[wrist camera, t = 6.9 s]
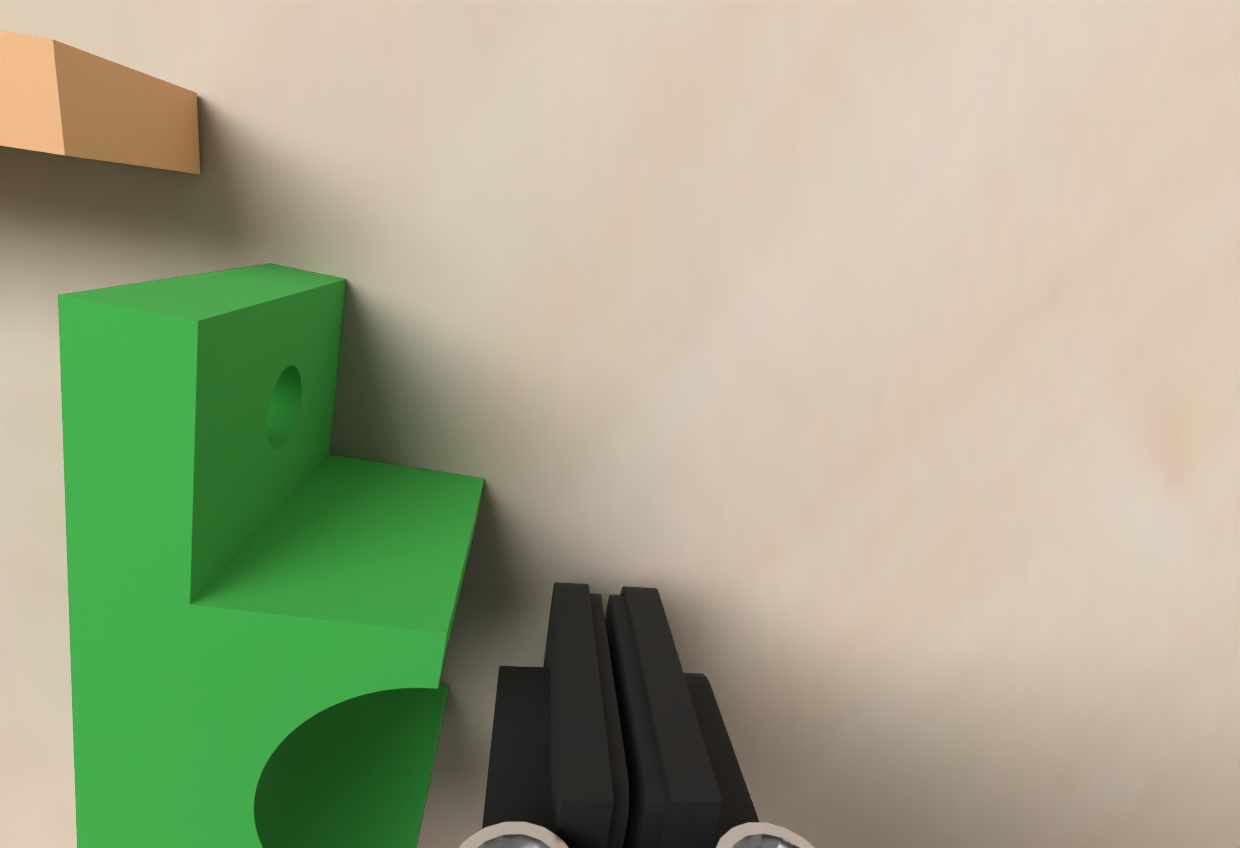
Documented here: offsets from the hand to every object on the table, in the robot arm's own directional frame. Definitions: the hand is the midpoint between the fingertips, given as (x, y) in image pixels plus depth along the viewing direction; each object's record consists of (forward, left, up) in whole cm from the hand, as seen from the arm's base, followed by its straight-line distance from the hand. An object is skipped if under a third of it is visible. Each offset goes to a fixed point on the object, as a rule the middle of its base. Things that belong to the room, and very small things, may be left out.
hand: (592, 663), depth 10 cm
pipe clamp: (0, -4, -2) cm, 4 cm away
